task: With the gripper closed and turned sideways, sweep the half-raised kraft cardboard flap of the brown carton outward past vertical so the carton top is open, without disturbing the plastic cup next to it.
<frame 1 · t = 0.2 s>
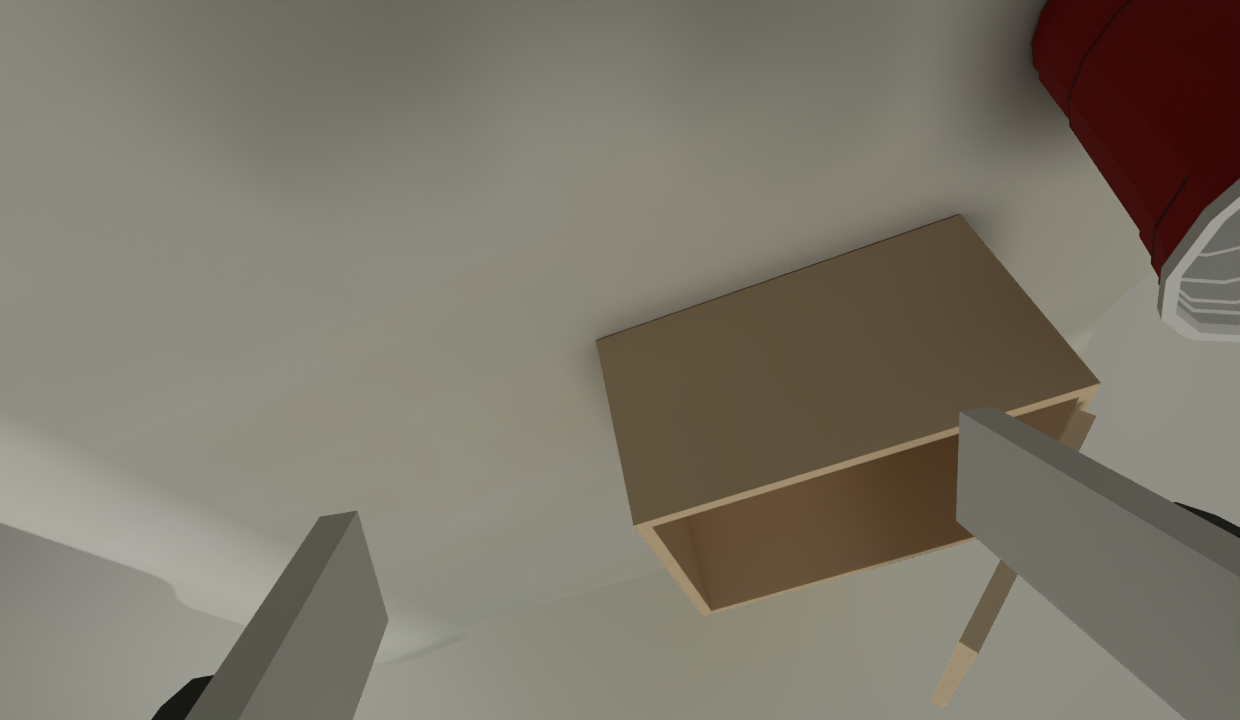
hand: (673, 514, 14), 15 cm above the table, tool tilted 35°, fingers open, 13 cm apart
flap: (1003, 575, 27), point 14 cm above the table, hinge at 50.0°
plastic cup: (1102, 9, 23), on the table
carton: (785, 362, 36), on the table
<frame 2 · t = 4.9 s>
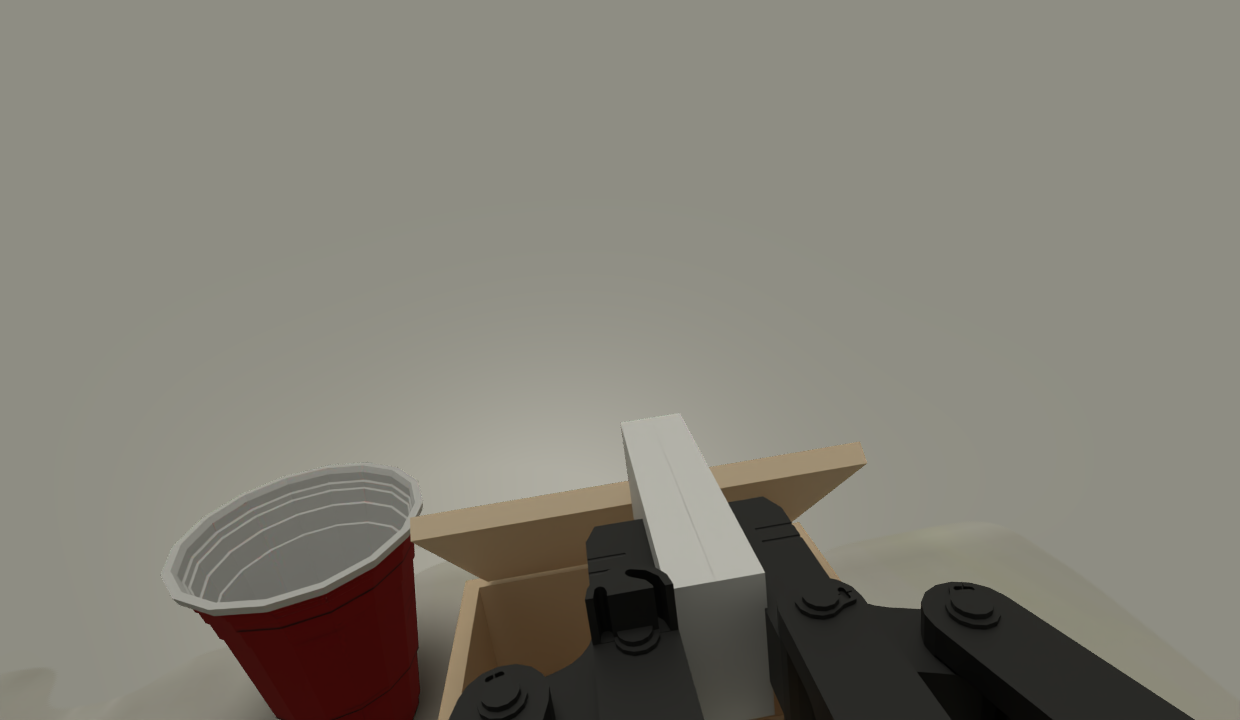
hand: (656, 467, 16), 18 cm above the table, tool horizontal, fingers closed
flap: (638, 525, 21), point 14 cm above the table, hinge at 48.2°, touching gripper
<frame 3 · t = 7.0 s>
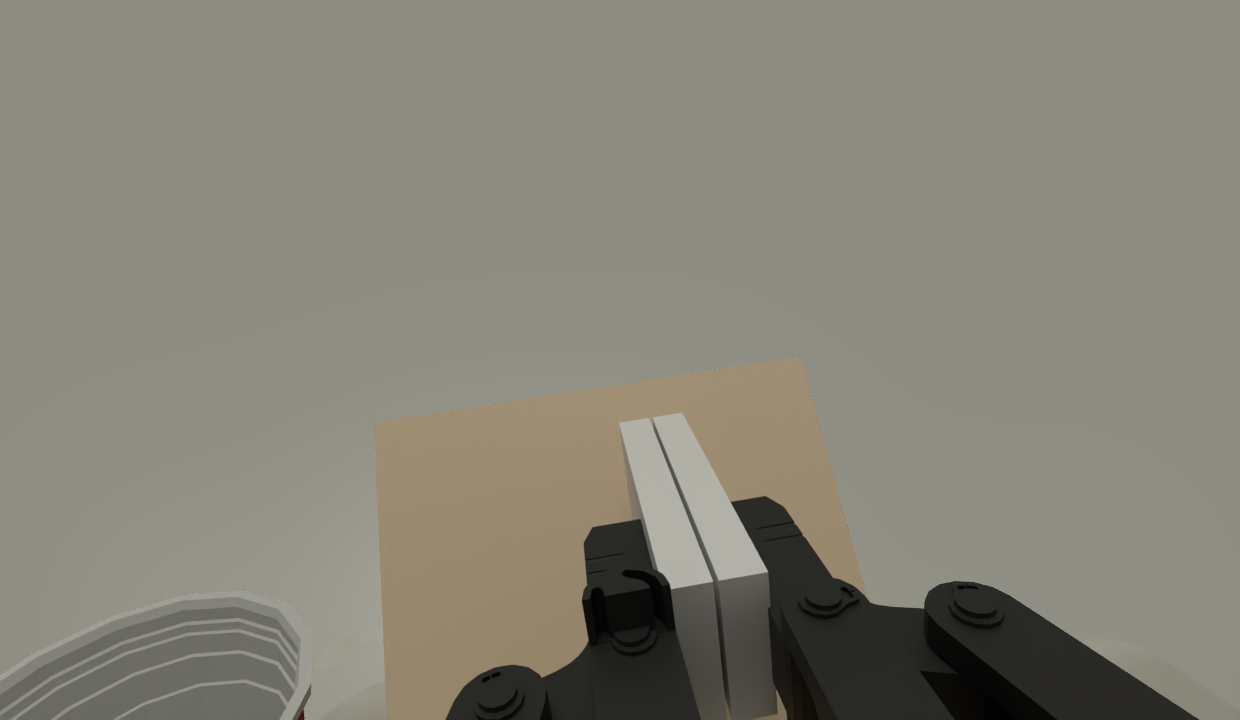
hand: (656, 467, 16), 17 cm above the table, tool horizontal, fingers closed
flap: (623, 576, 16), point 15 cm above the table, hinge at -36.2°, touching gripper
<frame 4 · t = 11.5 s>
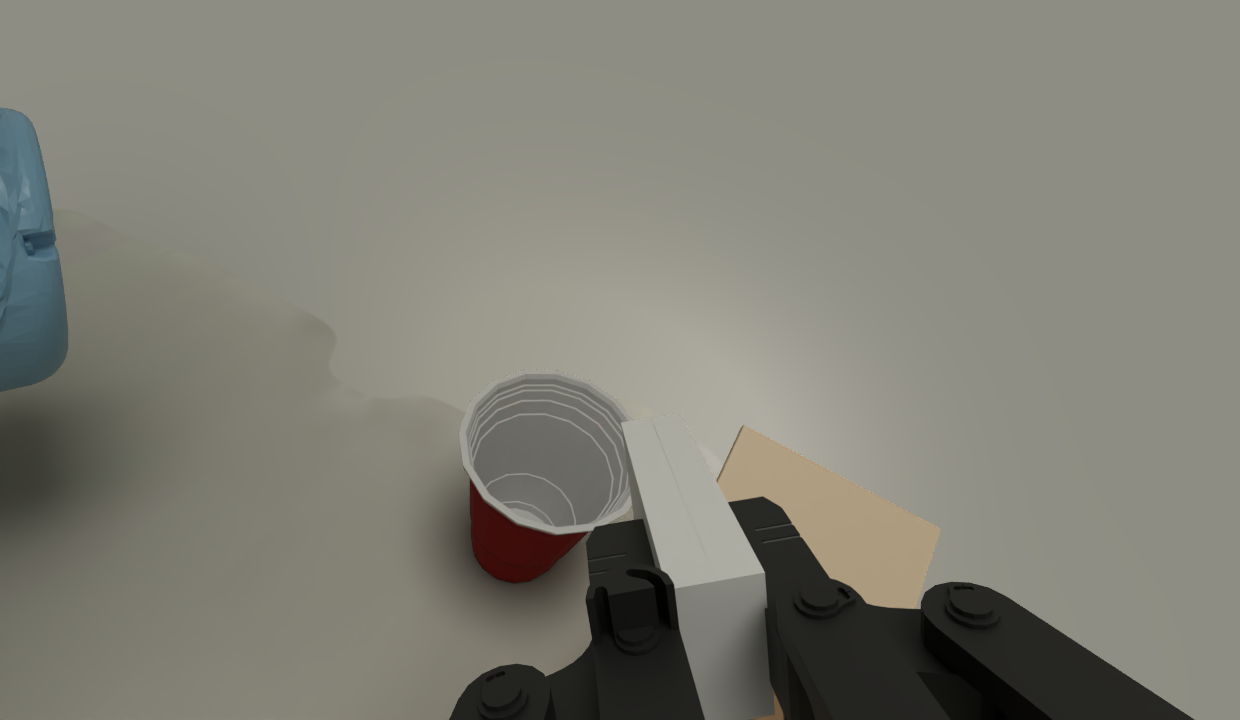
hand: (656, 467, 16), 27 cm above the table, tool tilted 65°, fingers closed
flap: (806, 560, 34), point 13 cm above the table, hinge at -59.4°
plastic cup: (513, 548, 43), on the table
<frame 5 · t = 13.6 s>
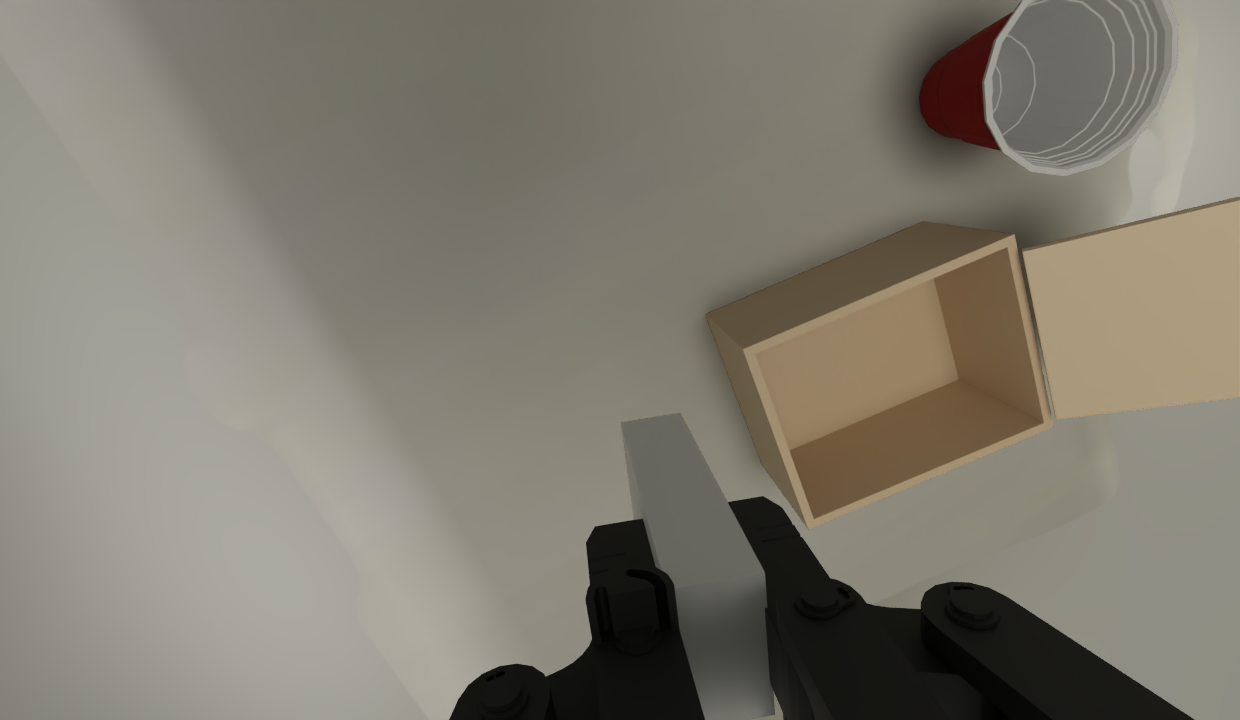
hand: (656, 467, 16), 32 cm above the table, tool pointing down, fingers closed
flap: (1137, 320, 38), point 13 cm above the table, hinge at -59.4°
plastic cup: (952, 97, 46), on the table
carton: (839, 348, 51), on the table
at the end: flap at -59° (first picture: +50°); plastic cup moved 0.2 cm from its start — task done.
